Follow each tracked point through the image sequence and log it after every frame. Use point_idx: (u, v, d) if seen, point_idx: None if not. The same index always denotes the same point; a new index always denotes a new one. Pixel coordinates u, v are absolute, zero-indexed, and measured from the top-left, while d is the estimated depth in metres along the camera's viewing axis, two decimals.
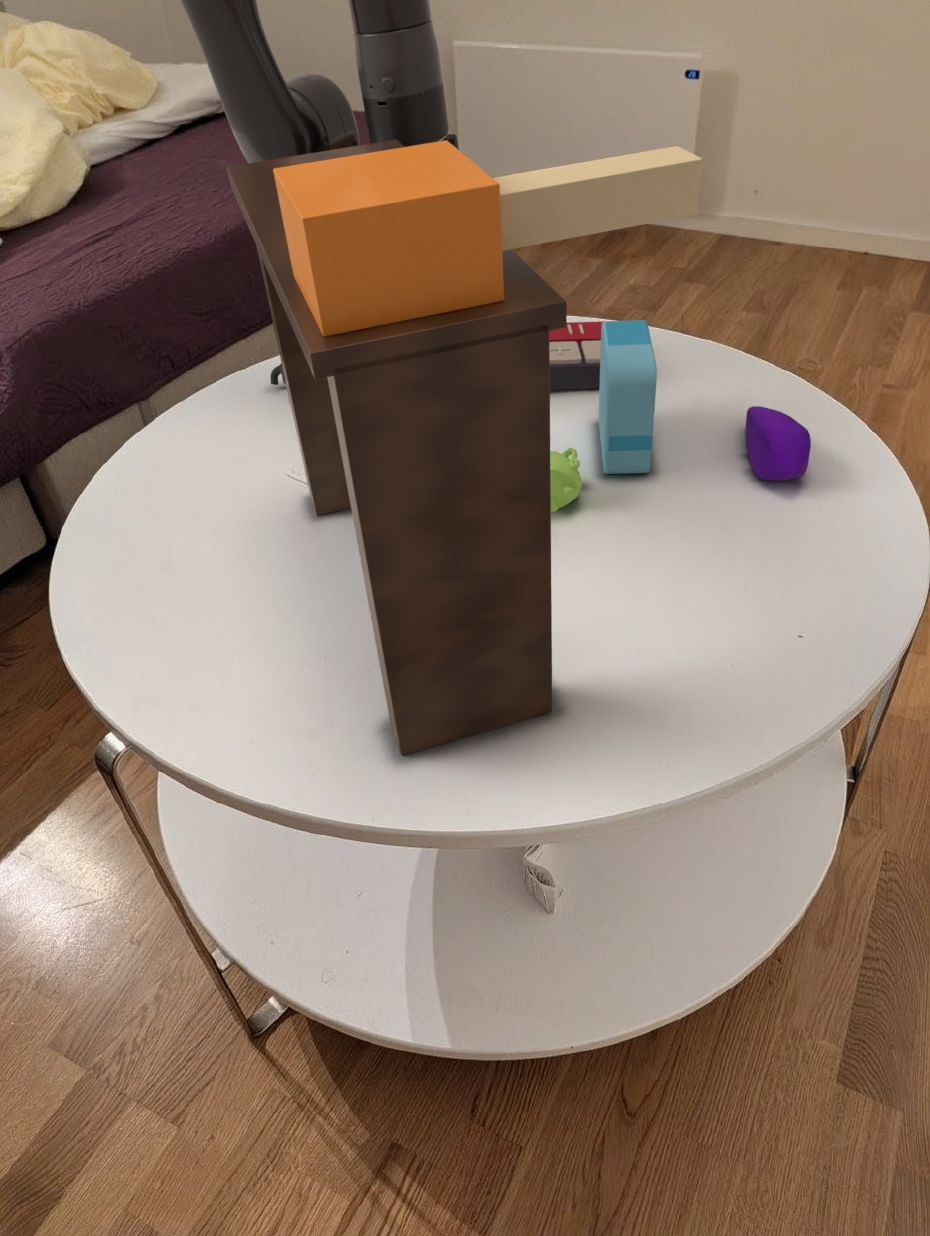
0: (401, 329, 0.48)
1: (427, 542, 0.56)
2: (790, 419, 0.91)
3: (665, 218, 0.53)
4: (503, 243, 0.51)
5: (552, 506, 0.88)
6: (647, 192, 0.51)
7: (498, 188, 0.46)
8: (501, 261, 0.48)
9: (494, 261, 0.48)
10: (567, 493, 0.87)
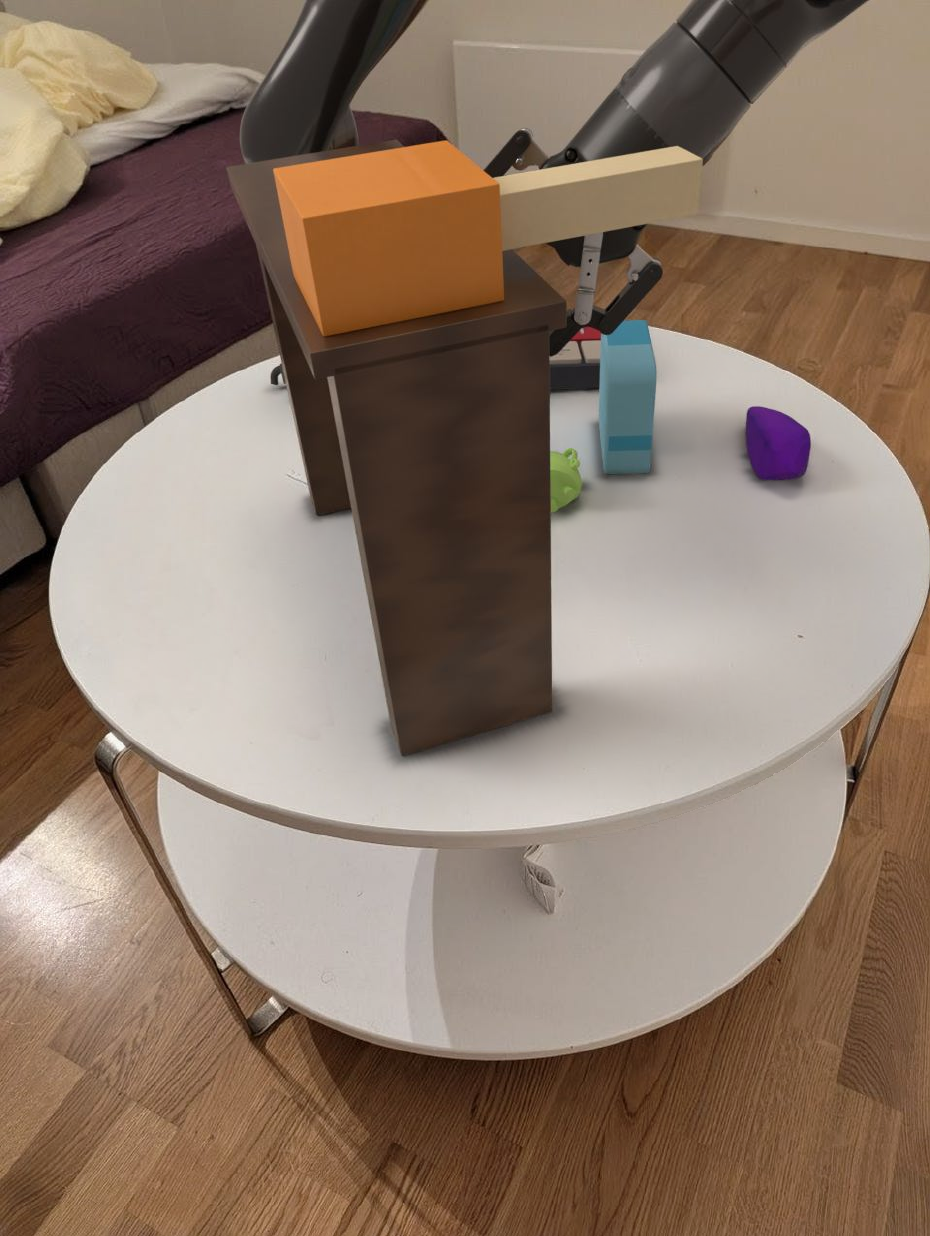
0: (401, 329, 0.48)
1: (427, 542, 0.56)
2: (790, 419, 0.91)
3: (665, 218, 0.53)
4: (503, 243, 0.51)
5: (552, 506, 0.88)
6: (647, 192, 0.51)
7: (498, 188, 0.46)
8: (501, 261, 0.48)
9: (494, 261, 0.48)
10: (567, 493, 0.87)
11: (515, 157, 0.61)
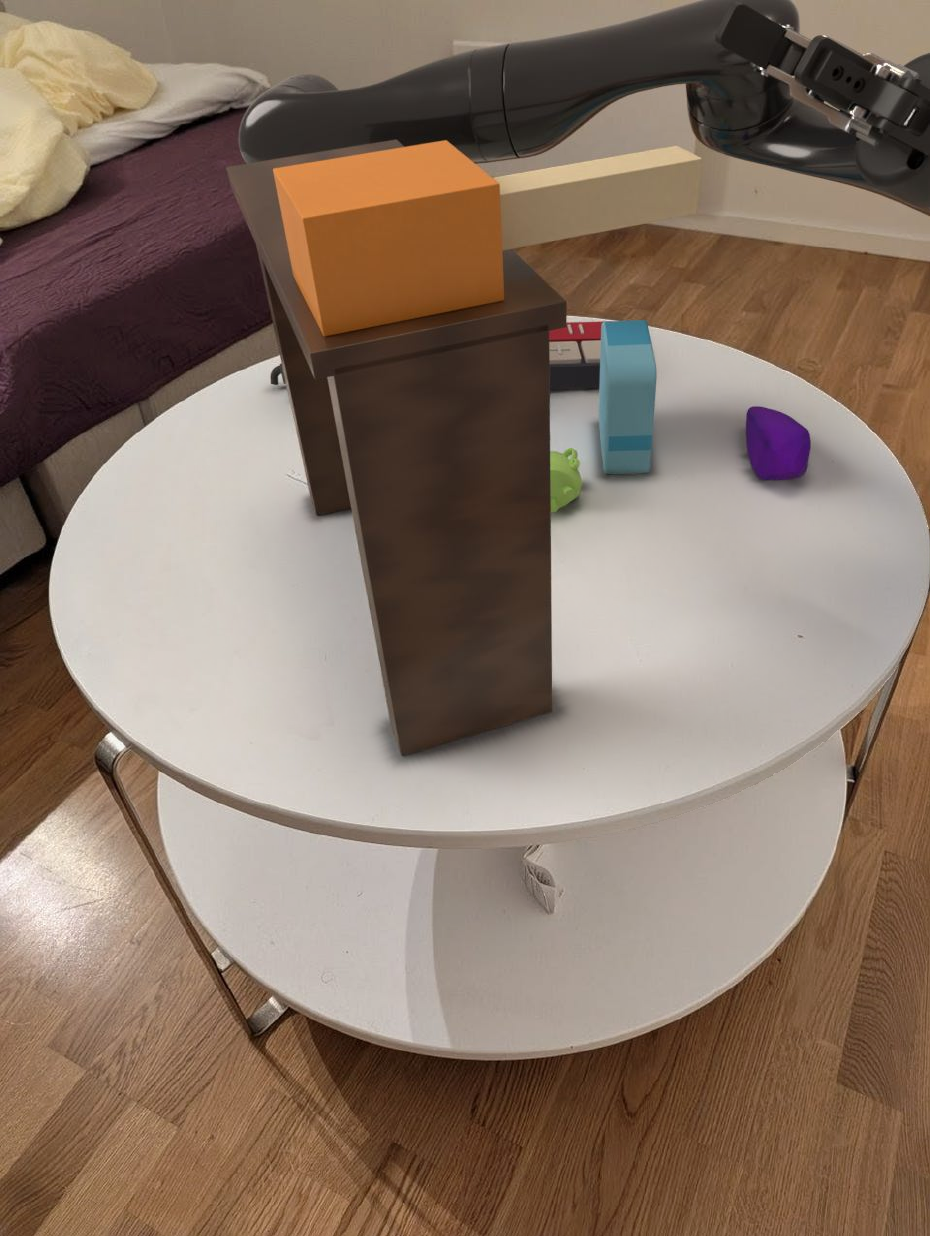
0: (401, 329, 0.48)
1: (427, 542, 0.56)
2: (790, 419, 0.91)
3: (665, 218, 0.53)
4: (503, 243, 0.51)
5: (552, 506, 0.88)
6: (647, 192, 0.51)
7: (498, 188, 0.46)
8: (501, 261, 0.48)
9: (494, 261, 0.48)
10: (567, 493, 0.87)
11: None
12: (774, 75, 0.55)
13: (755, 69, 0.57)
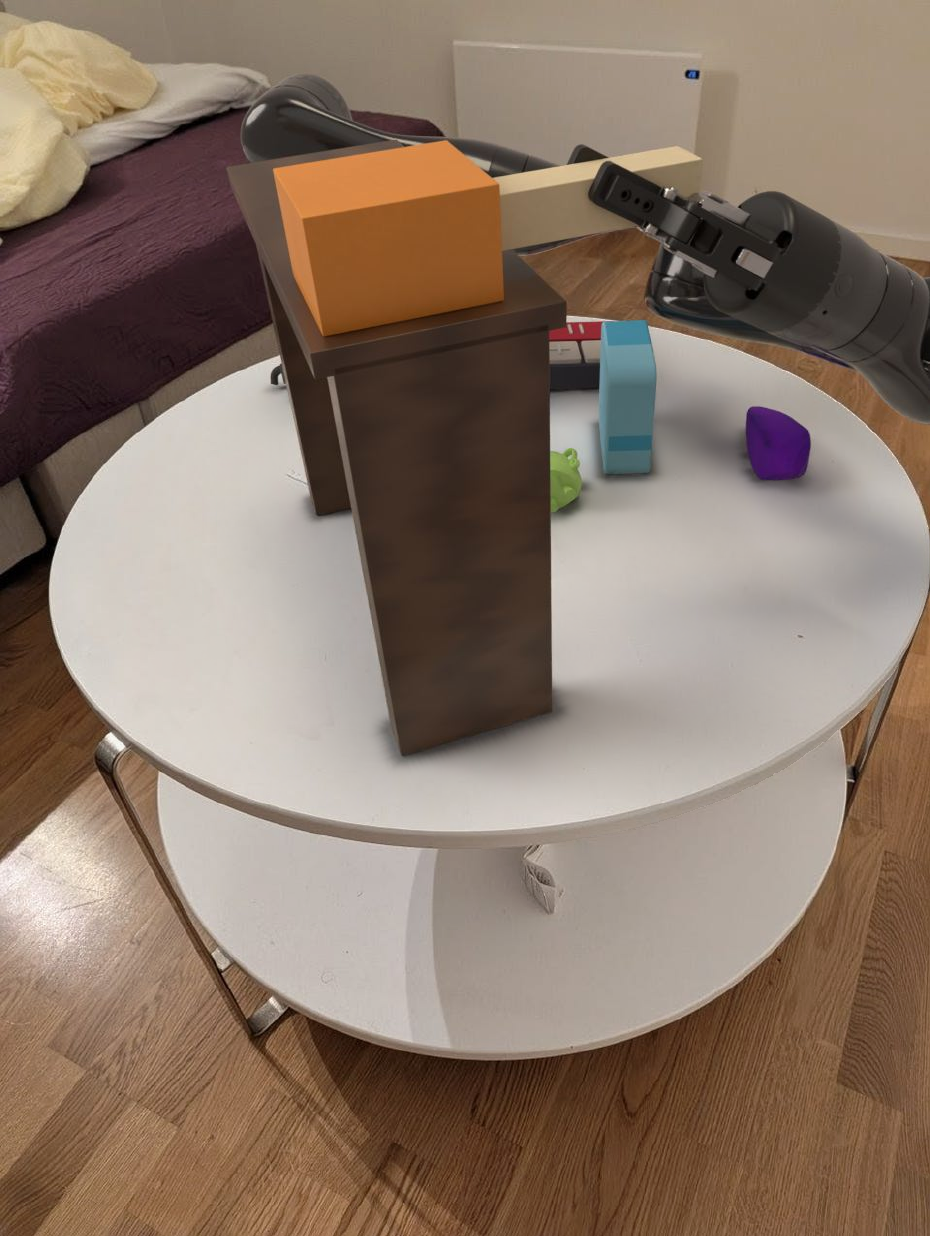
0: (401, 329, 0.48)
1: (427, 542, 0.56)
2: (790, 419, 0.91)
3: None
4: (503, 243, 0.51)
5: (552, 506, 0.88)
6: None
7: (498, 188, 0.46)
8: (501, 261, 0.48)
9: (494, 261, 0.48)
10: (567, 493, 0.87)
11: None
12: None
13: None
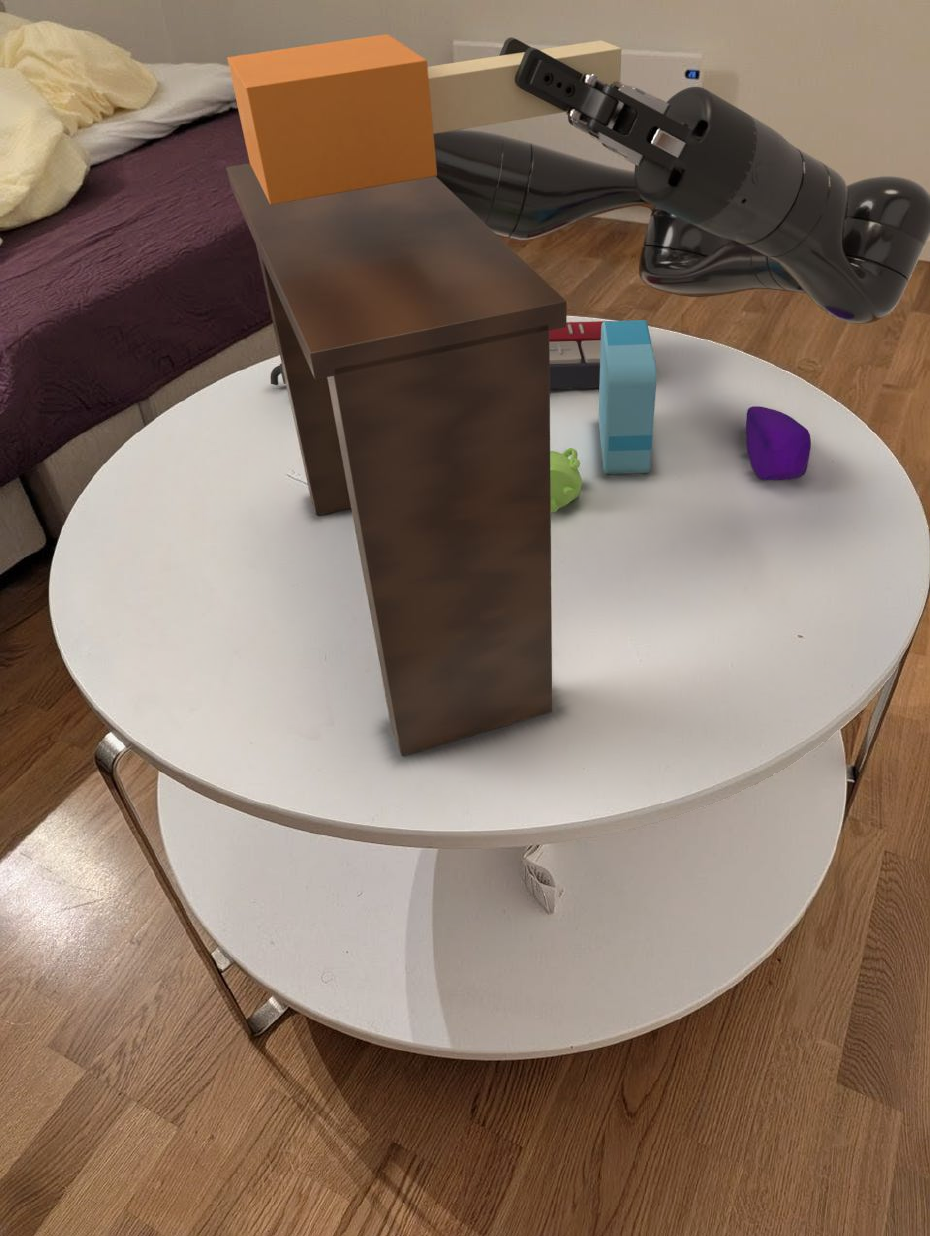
0: (401, 329, 0.48)
1: (427, 542, 0.56)
2: (790, 419, 0.91)
3: None
4: (437, 125, 0.55)
5: (552, 506, 0.88)
6: None
7: (426, 64, 0.50)
8: (432, 136, 0.53)
9: (425, 136, 0.53)
10: (567, 493, 0.87)
11: None
12: None
13: None
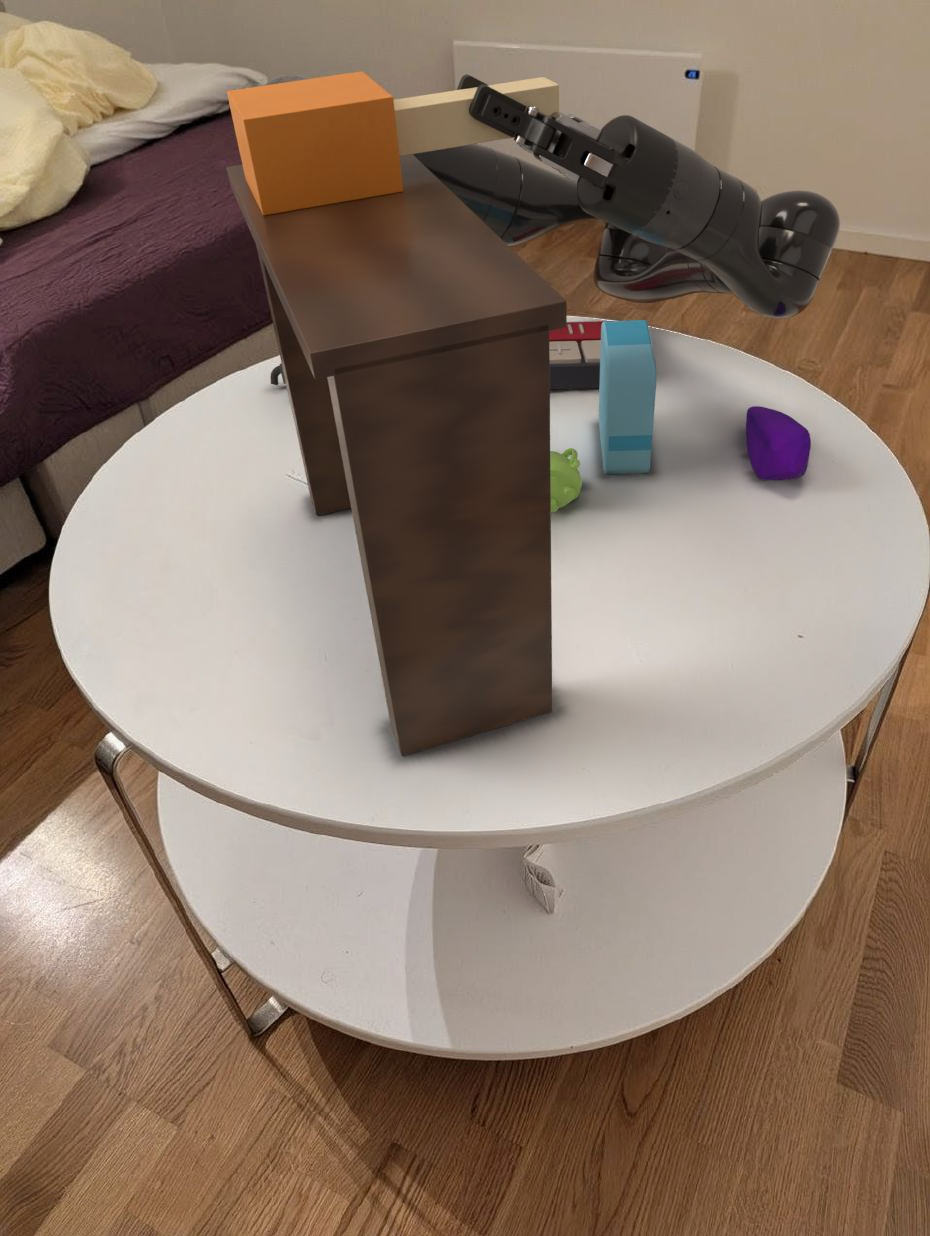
0: (401, 329, 0.48)
1: (427, 542, 0.56)
2: (790, 419, 0.91)
3: None
4: (404, 149, 0.66)
5: (552, 506, 0.88)
6: None
7: (392, 100, 0.61)
8: (398, 159, 0.63)
9: (393, 159, 0.63)
10: (567, 493, 0.87)
11: None
12: None
13: None
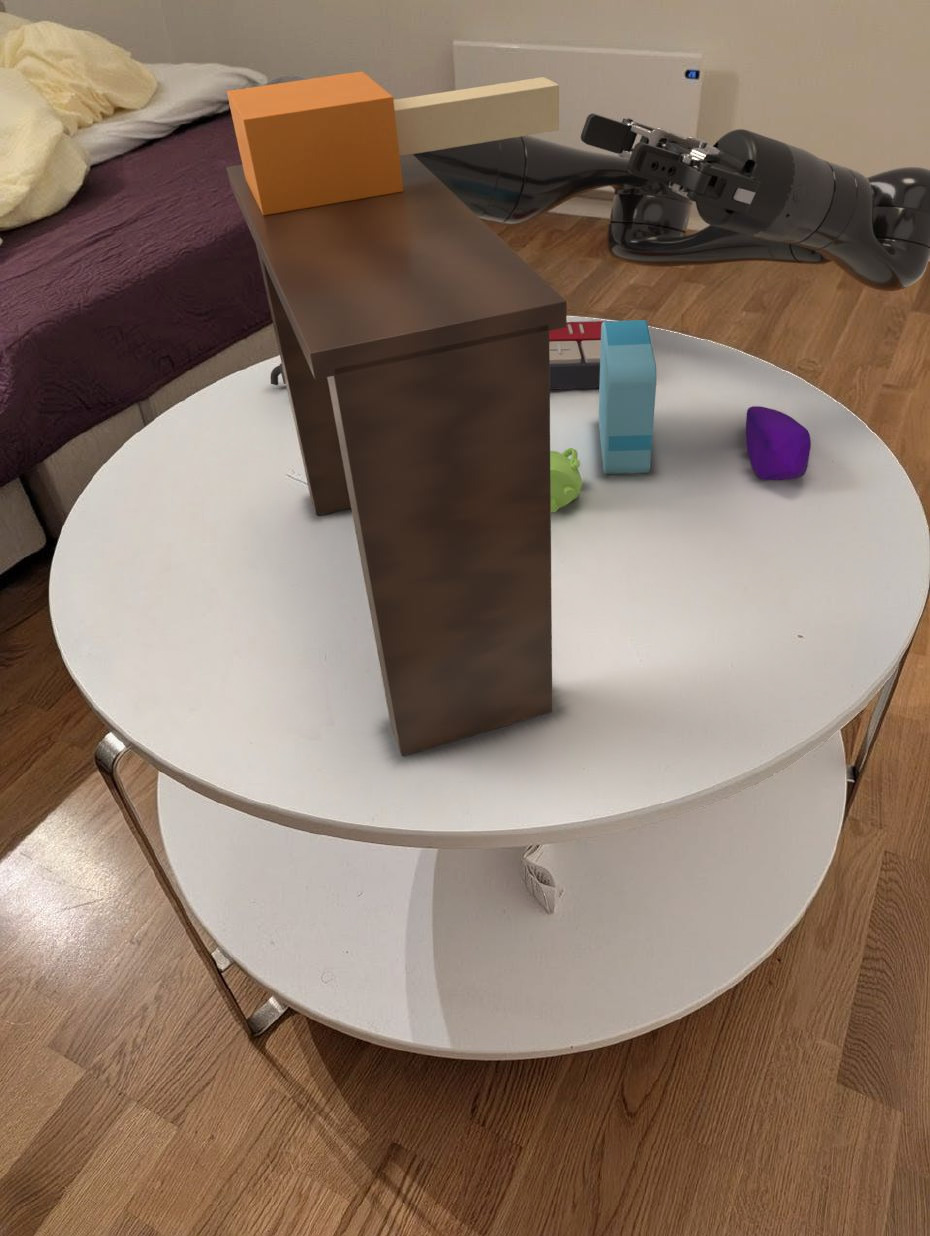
0: (401, 329, 0.48)
1: (427, 542, 0.56)
2: (790, 419, 0.91)
3: (533, 132, 0.68)
4: (404, 149, 0.66)
5: (552, 506, 0.88)
6: (516, 111, 0.67)
7: (392, 100, 0.61)
8: (398, 159, 0.63)
9: (393, 159, 0.63)
10: (567, 493, 0.87)
11: None
12: (627, 157, 0.77)
13: None
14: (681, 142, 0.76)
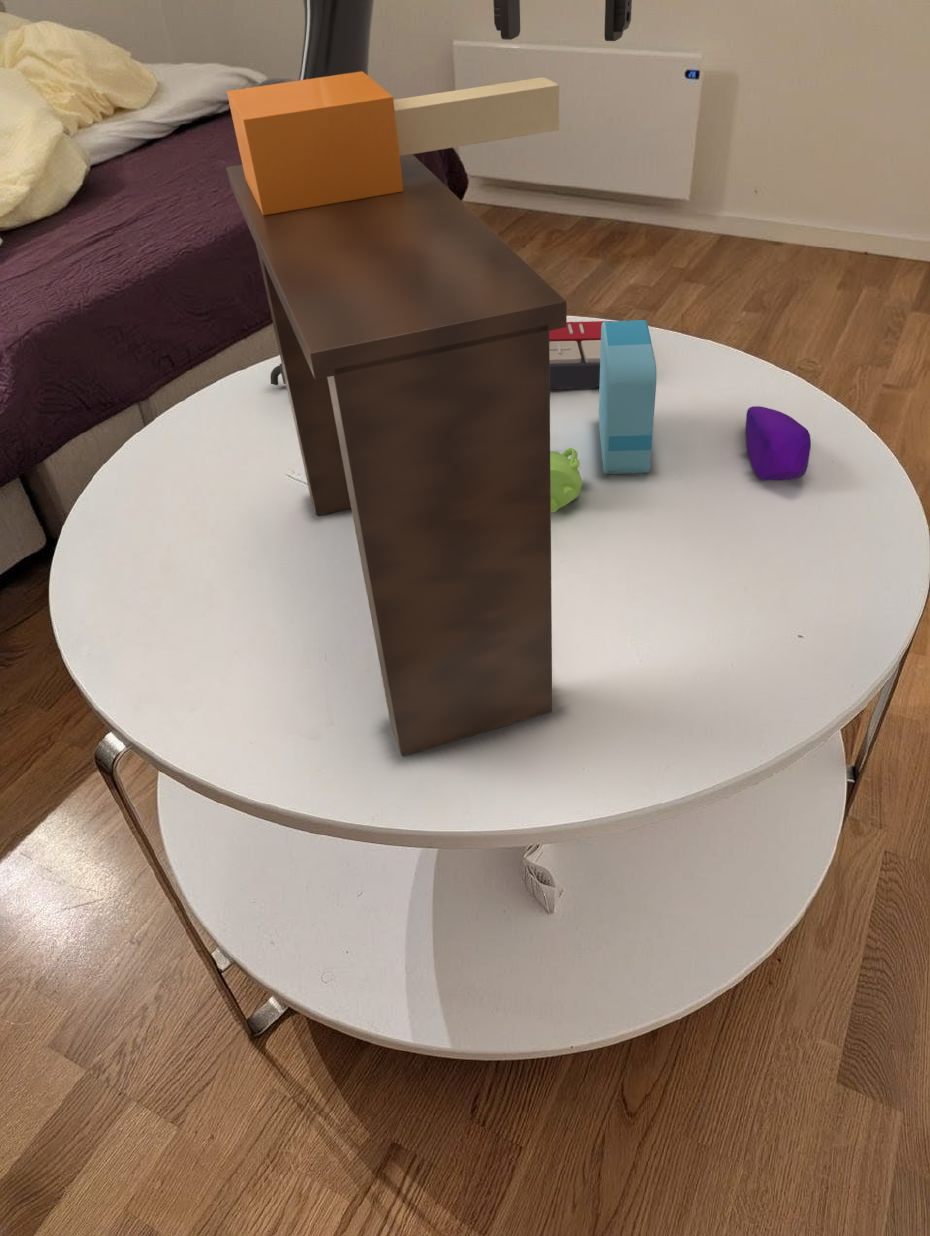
0: (401, 329, 0.48)
1: (427, 542, 0.56)
2: (790, 419, 0.91)
3: (533, 132, 0.68)
4: (404, 149, 0.66)
5: (552, 506, 0.88)
6: (516, 111, 0.67)
7: (392, 100, 0.61)
8: (398, 159, 0.63)
9: (393, 159, 0.63)
10: (567, 493, 0.87)
11: None
12: None
13: None
14: None
